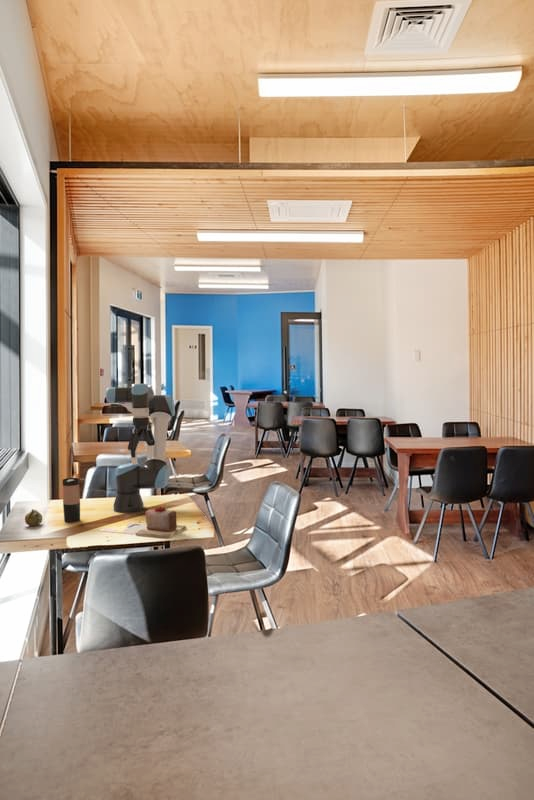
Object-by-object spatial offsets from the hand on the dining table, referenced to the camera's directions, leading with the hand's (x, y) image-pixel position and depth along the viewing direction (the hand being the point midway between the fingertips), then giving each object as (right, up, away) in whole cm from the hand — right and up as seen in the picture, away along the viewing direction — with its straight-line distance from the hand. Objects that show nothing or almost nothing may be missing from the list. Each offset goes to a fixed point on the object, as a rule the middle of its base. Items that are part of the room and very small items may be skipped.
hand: (142, 461), depth 280 cm
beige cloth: (+12, -29, -17) cm, 36 cm away
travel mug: (-34, -29, +4) cm, 45 cm away
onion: (-50, -30, -3) cm, 58 cm away
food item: (+12, -28, -17) cm, 35 cm away
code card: (-5, -29, -10) cm, 31 cm away
